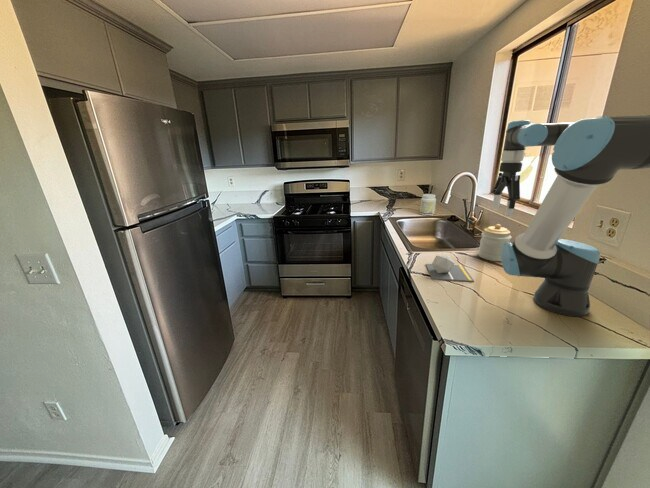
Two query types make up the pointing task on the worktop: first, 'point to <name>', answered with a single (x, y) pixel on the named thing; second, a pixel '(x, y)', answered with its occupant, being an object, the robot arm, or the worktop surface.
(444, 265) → the die
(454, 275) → the mat
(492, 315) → the worktop surface
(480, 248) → the jar
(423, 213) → the supplement tub
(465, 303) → the worktop surface
